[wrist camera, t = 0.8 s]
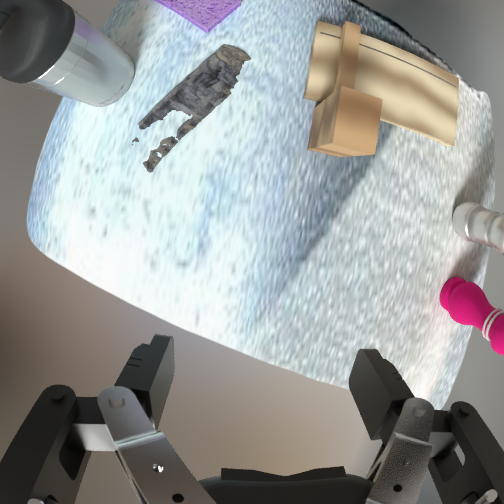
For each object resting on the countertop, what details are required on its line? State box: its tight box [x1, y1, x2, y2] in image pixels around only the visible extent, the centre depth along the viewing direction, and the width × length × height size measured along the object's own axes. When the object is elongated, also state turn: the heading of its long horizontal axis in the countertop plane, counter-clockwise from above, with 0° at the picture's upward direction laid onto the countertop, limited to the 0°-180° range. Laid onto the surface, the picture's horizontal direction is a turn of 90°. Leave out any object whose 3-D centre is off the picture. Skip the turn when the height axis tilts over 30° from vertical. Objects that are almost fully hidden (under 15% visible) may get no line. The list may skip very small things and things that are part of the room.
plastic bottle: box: [452, 201, 504, 255], centre depth 31 cm, size 6×7×20 cm
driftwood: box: [132, 45, 251, 172], centre depth 35 cm, size 21×7×2 cm, turn 132°
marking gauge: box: [307, 21, 383, 157], centre depth 30 cm, size 18×4×12 cm, turn 170°
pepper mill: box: [440, 277, 504, 355], centre depth 34 cm, size 7×7×20 cm
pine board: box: [304, 21, 459, 146], centre depth 34 cm, size 12×24×2 cm, turn 80°
